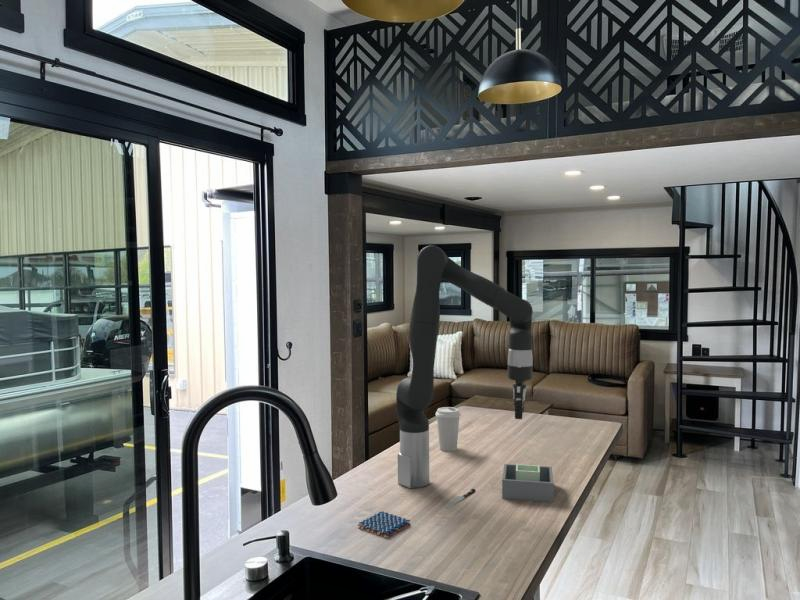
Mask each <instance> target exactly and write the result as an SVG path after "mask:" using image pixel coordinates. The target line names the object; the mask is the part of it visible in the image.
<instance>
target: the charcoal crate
mask: <svg viewBox="0 0 800 600" xmlns="http://www.w3.org/2000/svg"><path fill="white" fill-rule="evenodd" d="M539 466H540V482H539V481H525V480H516V464H512V463H504V464H503V470H502V471H503V472H502V480H501V483H502V484H501V487H502V488H501V489H502V490H501V491H502V492H501V494H502V496H501V498H502V499H507V500H520V501H534V502H544V503H545V502H547V503H548V502H549V503H554V477H553V467H552V466H547V465H545V466H544V465H539Z"/></svg>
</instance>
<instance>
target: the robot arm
mask: <svg viewBox="0 0 800 600" xmlns="http://www.w3.org/2000/svg"><path fill="white" fill-rule="evenodd" d="M416 261H417V262H416V285H415V286H416V287H415V288H416V289H415V292H414V293H415V294H414V297H413V302H412V308H411V315H410V319H409V320H410V321H409V329H408V343H409V348H410V349H409V350H410V352H411V358H412V371H411V376H410V377H406V378H403V379H402V380H400V382H399V383H398V386H397V388H396V393H395V394H396V395H395V396H396V398H395V399H396V415H397V421H398V424H399V453H397V484H399V485H402V486H404V487H406V488H408V489H413V488H414V489H415V488H424V487H426V486H429V484H430V422H429V419H428V418H427V416H426V414H425V412H424V411H425V410H426V409H427V408H428V407H429V406H430V405H431V403H432V401H433V398H434V388H435V387H434V382H435V381H434V380H435V379H434V377H435V376H434V375H435V363H436V362H435V361H436V352H437V343H438V338H439V337H438V336H439V330H440V329H439V328H440V322H441V321H440V319H441V310H440V309H441V306H440V289H441V283H442V281H445V282H447V283H450V284H452V285H453V286H456V287H457V288H459V289H461V290H463V292H465V293H467V294H469V295H470V296H471V297H473V298H475V299H476V300H478V301H480V302H481V303H483V304H485V305H487V306H489V307H490V308H493V309H494V310H497V311H498V312H499V313H501V314H503V315H505V316H506V317H507V318H509V334H508V335H509V336H508V353H507V378H508V379H509V380H512V381H515V383H513V386H512V391H513V397H512V399H513V400H514V401H513V402H514V403H513V405H514V419H516V420H523V413H524V410H525V409H524V408H525V406H524V405H525V400H526V394H527V384H525V382H526V381H530V380H533V365H534V364H533V356H534V355H533V336H532V323H533V322H532V321H533V307H532V305H531V303H530V302H529V301H528V300H526V299H523V298H521V297H519V296H517V295H515V294H513V293H511V292H509V291H508V290H506V289H505V288H504V287H502V286H501V285H499V284H497V283H495V282H494V281H492V280H490V279H488V278H486V277H484V276H481V275H479V274H477V273H475V272H472V271H470V270H468V269H467V268H464V267H462V266H461V265H460V264H458V263H456V262H455V261H454V260H453V259H451V258H450V257H449V256H448V255H447V254H446V253H445V251H444V250H443V249H442V248H440V247H439V246H437V245H433V244H430V245H427V246H424V247H423V248H422V249H421V250H420V251H419V252H418V255H417V259H416Z"/></svg>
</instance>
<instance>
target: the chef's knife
mask: <svg viewBox="0 0 800 600" xmlns="http://www.w3.org/2000/svg"><path fill="white" fill-rule="evenodd" d="M475 492H476V489H475V488H471V489H470V490H469V491H468V492H466V493H464V494H463V495H457V496H456V495H455V496H454V497H453V498H452V499H451V500H450V501H448V502H447V503H446V504H445V505H444V510H446V509H447V510H449V509H451V508H452V507H454V506H455V505H457V504H459V503H460V502H461V501H462V500H464V498H465V499H466V498H468V497H469V496H471V495H472V494H473V493H475ZM447 510H446V511H447Z"/></svg>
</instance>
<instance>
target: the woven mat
mask: <svg viewBox="0 0 800 600" xmlns="http://www.w3.org/2000/svg"><path fill="white" fill-rule="evenodd" d="M410 521H411V520H410V519H407V518H406V517H405V518H404V517H402V516H398V515H395V514H393V513H389V512H386V511H383V510H382V511H379V512H378V513H375V514H374V515H371V516H370V517H367V519H363V520H362V521H359V522H358V524H357V526H358V527H357V529H360V530H363V531H364V532H366V531H367V532H368V533H369V532H370V533H371V534H374V535H377V536H380V538H382V537H383V538H384V539H385V538H386V539H387V538H389V537H392V536H393V535H394V534H395V533H398V532H399V531H401V530H403V529H405V528H406V527H408V526H410V525H411V522H410Z"/></svg>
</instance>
